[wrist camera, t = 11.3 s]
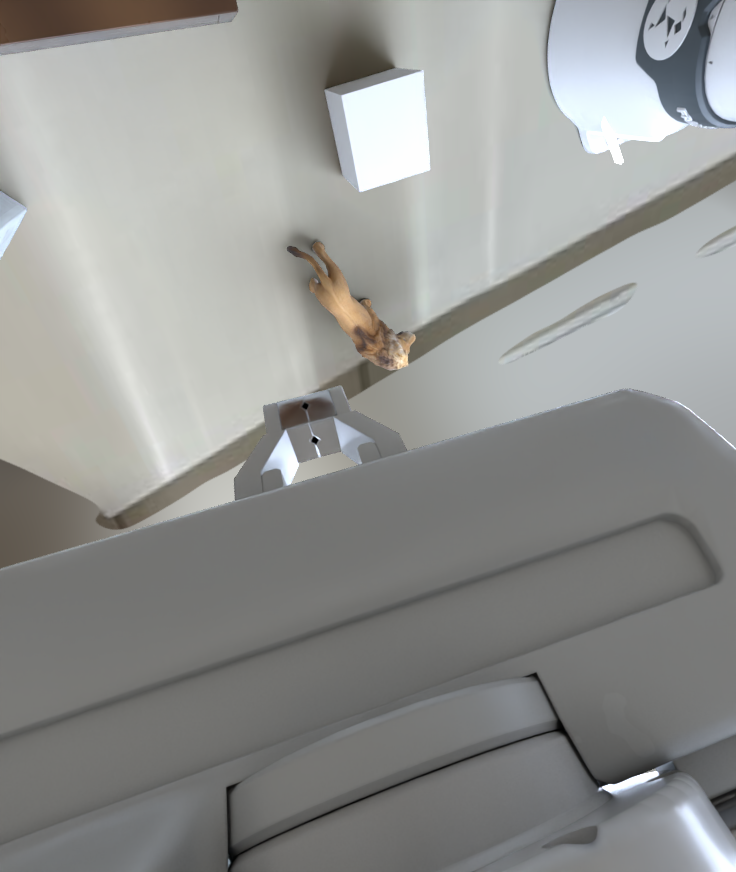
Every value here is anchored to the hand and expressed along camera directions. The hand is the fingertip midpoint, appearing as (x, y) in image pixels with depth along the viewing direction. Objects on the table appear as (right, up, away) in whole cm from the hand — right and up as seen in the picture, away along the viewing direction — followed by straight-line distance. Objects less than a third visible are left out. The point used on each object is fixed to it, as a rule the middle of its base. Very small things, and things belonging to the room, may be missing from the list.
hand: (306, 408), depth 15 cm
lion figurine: (0, +15, +28) cm, 32 cm away
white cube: (+2, +25, +19) cm, 32 cm away
